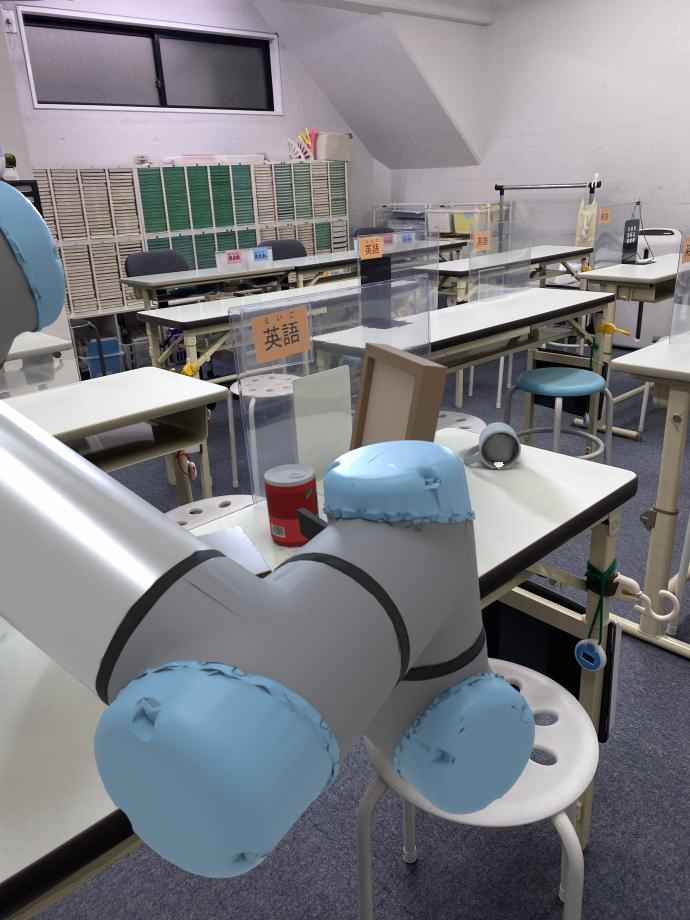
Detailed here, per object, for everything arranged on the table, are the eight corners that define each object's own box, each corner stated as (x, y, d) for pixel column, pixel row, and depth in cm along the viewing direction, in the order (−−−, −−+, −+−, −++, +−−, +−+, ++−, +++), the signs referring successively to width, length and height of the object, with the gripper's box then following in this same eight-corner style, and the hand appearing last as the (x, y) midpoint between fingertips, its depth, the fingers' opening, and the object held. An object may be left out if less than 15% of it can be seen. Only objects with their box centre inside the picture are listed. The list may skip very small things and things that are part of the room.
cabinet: (280, 637, 85) (271, 570, 81) (187, 666, 81) (174, 597, 77) (248, 586, 97) (240, 525, 93) (166, 609, 92) (153, 547, 89)
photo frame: (397, 518, 113) (391, 371, 104) (346, 475, 132) (337, 346, 123) (474, 499, 118) (474, 356, 109) (414, 459, 137) (410, 335, 128)
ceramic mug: (515, 453, 136) (515, 416, 133) (521, 469, 128) (521, 430, 126) (461, 455, 137) (460, 419, 135) (463, 471, 130) (462, 433, 127)
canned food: (320, 545, 106) (314, 480, 102) (269, 549, 106) (261, 484, 102) (321, 523, 113) (315, 461, 109) (273, 526, 113) (265, 465, 109)
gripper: (187, 758, 44) (119, 623, 62) (487, 616, 55) (355, 536, 73) (161, 659, 42) (99, 549, 60) (479, 531, 52) (345, 470, 70)
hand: (239, 542), depth 66 cm, fingers open, 13 cm apart
